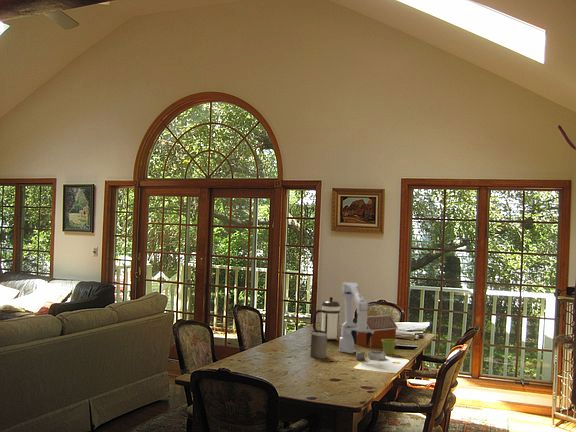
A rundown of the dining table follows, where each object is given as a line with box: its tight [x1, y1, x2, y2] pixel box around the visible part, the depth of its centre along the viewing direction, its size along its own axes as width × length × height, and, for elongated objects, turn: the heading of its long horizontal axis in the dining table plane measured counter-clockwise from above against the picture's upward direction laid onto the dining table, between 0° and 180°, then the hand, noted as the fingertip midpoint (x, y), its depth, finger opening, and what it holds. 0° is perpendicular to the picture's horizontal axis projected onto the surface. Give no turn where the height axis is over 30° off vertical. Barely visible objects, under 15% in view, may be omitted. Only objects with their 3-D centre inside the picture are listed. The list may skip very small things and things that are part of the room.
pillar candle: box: [310, 332, 328, 359], centre depth 367 cm, size 10×10×15 cm
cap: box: [355, 351, 367, 362], centre depth 362 cm, size 6×5×4 cm
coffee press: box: [312, 296, 342, 342], centre depth 421 cm, size 17×16×30 cm
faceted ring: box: [367, 350, 386, 361], centre depth 368 cm, size 10×10×4 cm
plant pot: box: [382, 339, 397, 356], centre depth 381 cm, size 9×9×9 cm
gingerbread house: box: [355, 314, 399, 349], centre depth 411 cm, size 18×26×20 cm
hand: (361, 344), depth 362 cm, fingers open, 7 cm apart
